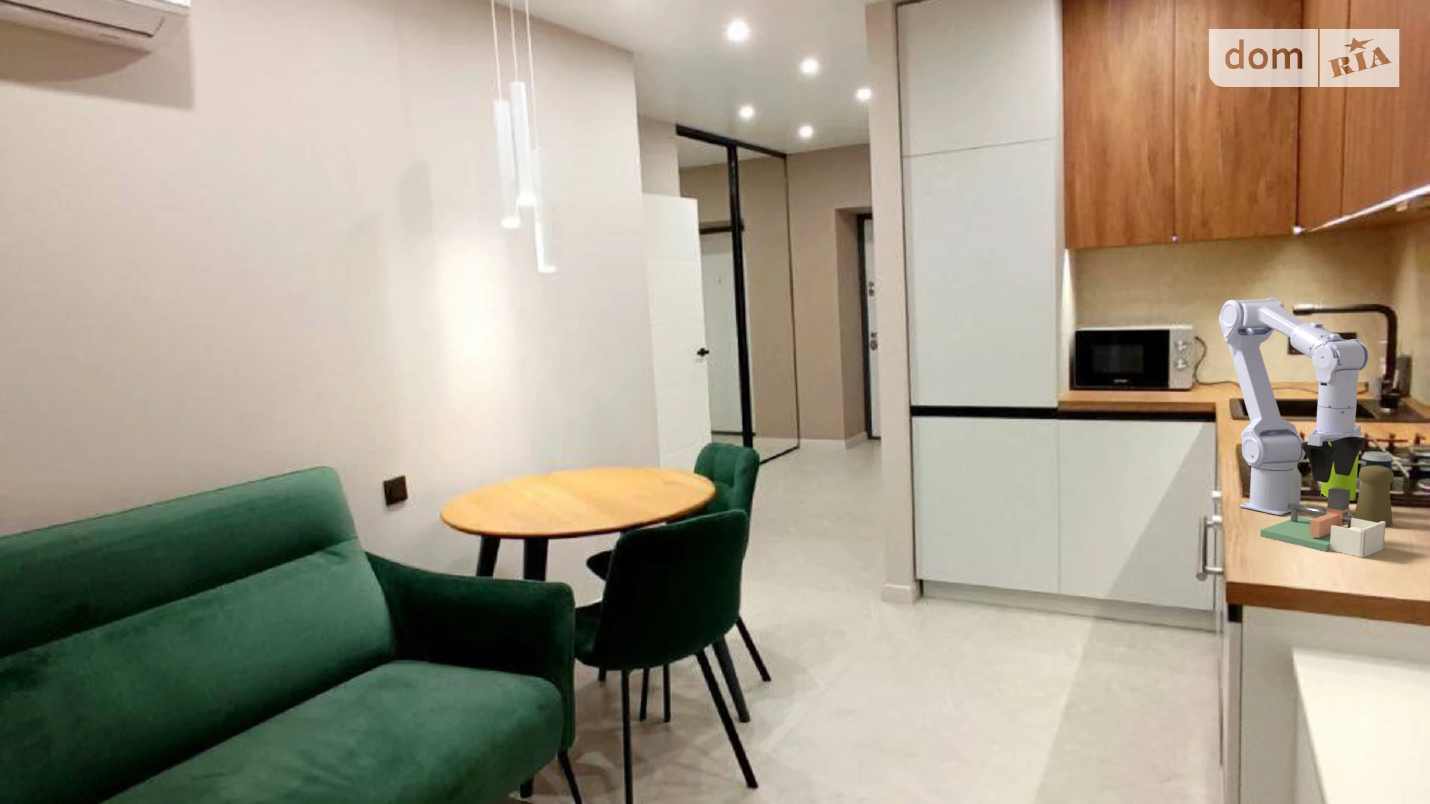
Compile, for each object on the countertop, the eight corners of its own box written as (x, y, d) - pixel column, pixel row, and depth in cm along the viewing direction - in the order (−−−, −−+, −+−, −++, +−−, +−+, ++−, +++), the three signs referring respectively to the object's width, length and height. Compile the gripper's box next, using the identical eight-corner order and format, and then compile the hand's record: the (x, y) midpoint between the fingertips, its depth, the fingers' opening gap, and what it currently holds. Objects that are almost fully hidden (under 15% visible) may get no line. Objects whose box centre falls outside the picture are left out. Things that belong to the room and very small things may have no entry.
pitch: (1297, 522, 162) (1298, 516, 162) (1363, 536, 153) (1363, 530, 153) (1260, 535, 156) (1260, 529, 156) (1326, 551, 147) (1326, 545, 146)
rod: (1290, 519, 161) (1291, 502, 160) (1355, 533, 151) (1356, 515, 151) (1286, 520, 160) (1287, 503, 160) (1352, 535, 151) (1353, 516, 150)
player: (1333, 525, 155) (1335, 487, 154) (1347, 528, 153) (1350, 489, 152) (1306, 535, 151) (1309, 495, 149) (1321, 538, 149) (1324, 498, 147)
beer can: (1359, 507, 170) (1363, 449, 168) (1389, 511, 166) (1394, 452, 164) (1355, 512, 166) (1359, 454, 164) (1386, 517, 163) (1390, 457, 161)
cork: (1375, 516, 163) (1379, 462, 162) (1401, 526, 157) (1405, 469, 156) (1345, 518, 163) (1348, 464, 161) (1370, 528, 157) (1374, 471, 155)
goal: (1351, 541, 151) (1352, 515, 150) (1383, 549, 146) (1385, 521, 146) (1329, 550, 147) (1331, 522, 146) (1362, 557, 143) (1364, 529, 142)
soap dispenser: (1314, 492, 181) (1320, 402, 178) (1354, 496, 177) (1361, 403, 174) (1314, 499, 176) (1320, 406, 173) (1355, 503, 172) (1362, 408, 169)
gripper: (1341, 413, 146) (1335, 489, 148) (1381, 403, 153) (1376, 475, 155) (1297, 409, 152) (1292, 481, 154) (1338, 399, 159) (1333, 468, 161)
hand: (1331, 478), depth 155 cm, fingers open, 7 cm apart
